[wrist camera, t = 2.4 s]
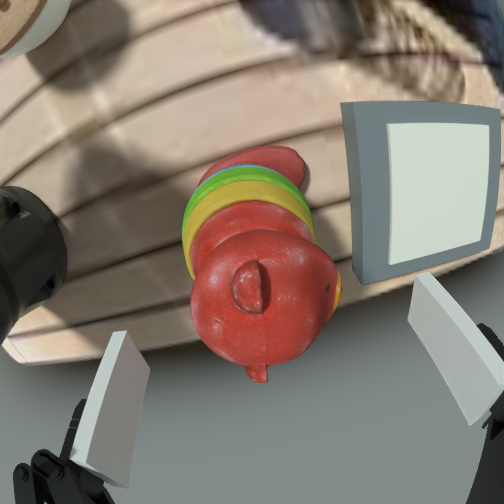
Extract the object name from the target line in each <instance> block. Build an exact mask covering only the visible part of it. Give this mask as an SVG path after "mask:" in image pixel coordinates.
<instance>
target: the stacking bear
mask: <svg viewBox="0 0 504 504" xmlns="http://www.w3.org/2000/svg"><path fill="white" fill-rule="evenodd" d="M304 167H305V162H304V160H303V159H302V158H301V157H299V156H298V153H297V152H296V151H295V150H294V149H292V148H289V147H283V146H260V147H253V148H249V149H245V150H241V151H239V152H236V153H234V154H231V155H229V156H227V157H225V158H224V159H222V160H220V161H219V162H217V163H216V164H215V165H213V166H212V167H211V168H210V169H209V170H208V171H207V172H206V173H205V174H204V176H203V177H202V179H201V180H200V182H199V185H198V187H197V189H196V190H195V192H194V193H193V195H192V196H191V198H190V200H189V202H188V205H187V207H186V210H185V213H184V217H183V224H182V243H183V248H184V256H185V260H186V264H187V268H188V270H189V273H190V275H191V277H192V279H193V280H194V284H193V288H192V292H191V302H190V306H191V315H192V320H193V323H194V326H195V329H196V331H197V333H198V334H199V336H200V338H201V339H202V341H203V342H204V343H205V344H206V345H207V346H208V347H209V348H210V349H211V350H212V351H213V352H215V353H216V354H217V355H219V356H221V357H222V358H224V359H226V360H228V361H230V362H233V363H236V364H239V365H243V366H244V367H245V371H246V373H247V374H248V376H249V377H250V379H252V380H253V381H255V382H258V383H267V382H268V372H267V366H274V365H278V364H282V363H286V362H289V361H291V360H293V359H295V358H297V357H298V356H300V355H301V354H303V353H304V352H305V351H306V350H307V349H308V348H309V347H310V345H311V344H312V343H313V341H314V340H315V338H316V336H317V335H318V334H319V332H320V331H321V330H322V328H323V327H324V326H325V324H326V323H327V322H328V321H329V319H330V317H331V316H332V314H333V312H334V310H335V308H336V307H337V305H338V303H339V300H340V298H341V292H342V283H341V277H340V273H339V271H338V269H337V267H336V265H335V264H334V262H333V260H332V259H331V258H330V256H329V255H328V254H327V253H326V252H325V251H323V250H322V249H321V248H320V247H318V246H317V245H315V234H314V224H313V218H312V215H311V211H310V209H309V206H308V204H307V201H306V199H305V198H304V196H303V195H302V193H301V192H300V190H299V189H298V188H299V187H300V185H301V184H302V182H303V179H304V177H305V171H304Z"/></svg>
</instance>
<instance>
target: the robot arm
mask: <svg viewBox="0 0 504 504" xmlns="http://www.w3.org/2000/svg"><path fill="white" fill-rule="evenodd" d="M66 270H67V256H66V249H65V244H64V241H63V238H62V235H61V232H60V230H59V227H58V225H57V223H56V221H55V220H54V218H53V216H52V215H51V213H50V212H49V210H48V209H47V208H46V206H45V205H44V204H43V203H42V202H41V201H40V200H39V199H38V198H37V197H36V196H35V195H33V194H32V193H30V192H29V191H27V190H25V189H23V188H20V187H16V186H6V187H2V188H0V346H1V345H2V343H3V342H4V340H5V338H6V337H7V335H8V334H9V332H10V331H11V329H12V328H13V326H14V325H15V323H16V322H17V321H18V319H19V318H21V317H23V316H24V315H26V314H28V313H29V312H31V311H33V310H34V309H36V308H38V307H39V306H41V305H43V304H44V303H46V302H48V301H49V300H50V299H51V298H52V297H53V296H54V294H55V293H56V292H57V290H58V289H59V288H60V286H61V285H62V283H63V281H64V278H65V275H66ZM408 322H409V323H410V325H411V326H412V328H413V329H414V331H415V332H416V334H417V336H418V337H419V339H420V340H421V342H422V343H423V345H424V347H425V348H426V350H427V351H428V353H429V354H430V356H431V358H432V359H433V361H434V363H435V364H436V366H437V368H438V370H439V371H440V373H441V374H442V376H443V378H444V380H445V381H446V383H447V385H448V387H449V388H450V390H451V392H452V394H453V396H454V397H455V399H456V401H457V403H458V405H459V407H460V408H461V410H462V412H463V414H464V416H465V418H466V420H467V422H468V424H469V425H471V424H473V423H475V422H476V421H478V420H480V419H481V418H483V417H484V415H485V414H486V413H487V412H488V411H489V409H490V411H491V413H492V414H491V416H490V417H489V418H488V419H487V420H486V422H485V423H484V424H483V426H482V428H483V429H484V428H485V427H486V426H487V424H488V423H489V424H488V428H487V434H486V439H485V443H484V448H483V451H482V456H481V459H480V463H479V466H478V470H477V473H476V477H475V479H474V482H473V485H472V488H471V491H470V494H469V497H468V499H467V502H466V504H504V346H503V343H502V342H501V341H500V339H498V337H497V336H496V334H495V333H494V332H493V331H492V329H490V328H489V327H487V326H486V325H484V324H483V323H481V324H478V325H475V324H474V322H473V321H472V320H471V319H470V318H469V316H468V315H467V314H466V313H465V312H464V311H463V309H462V308H461V307H460V306H459V305H458V303H457V302H456V301H455V300H454V299H453V298H452V297H451V296H450V294H449V293H448V292H447V291H446V290H445V289H444V288H443V287H442V286H441V285H440V283H439V282H438V281H437V280H436V279H435V278H434V277H433V276H432V275H431V274H430V273H429V272H425V273H421V274H418V275H415V281H414V287H413V293H412V299H411V305H410V310H409V315H408ZM149 374H150V367H149V366H148V364H147V363H146V361H145V360H144V358H143V356H142V355H141V353H140V352H139V350H138V348H137V347H136V345H135V343H134V342H133V340H132V338H131V337H130V335H129V333H128V331H117V332H113V334H112V336H111V339H110V341H109V344H108V346H107V348H106V351H105V353H104V356H103V358H102V361H101V364H100V366H99V369H98V371H97V374H96V377H95V379H94V382H93V385H92V388H91V391H90V394H89V396H88V399H82V400H81V401H80V402H79V404H78V405H77V407H76V408H75V410H74V413H73V416H72V420H71V422H70V425H69V427H70V428H68V431H67V434H66V438H65V441H64V444H63V447H62V451H61V454H60V457H59V458H58V457H57V456H55V455H54V454H53V453H51V452H50V451H48V450H46V449H41V450H38V451H37V452H36V453H35V454H34V456H33V457H32V460H31V466H29V465H28V464H26V463H20V464H18V465H17V466H16V468H15V470H14V472H13V483H14V494H15V503H16V504H44V502H46V503H47V504H115V503H114V501H113V499H112V498H111V496H110V495H109V493H108V491H107V489H106V488H105V487H104V486H103V484H104V481H105V482H106V483H108V484H110V485H112V486H116V487H122V488H128V484H129V477H130V471H131V464H132V458H133V452H134V446H135V441H136V435H137V430H138V425H139V420H140V415H141V410H142V405H143V401H144V396H145V391H146V387H147V382H148V378H149Z"/></svg>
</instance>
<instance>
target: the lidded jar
mask: <svg viewBox="0 0 504 504" xmlns="http://www.w3.org/2000/svg"><path fill="white" fill-rule="evenodd" d="M71 1H72V0H0V59H4V58H10V57H15V56H19V55H22V54H25V53H27V52H29V51H31V50H33V49H35V48H36V47H38V46H39V45H41V44H42V43H44V42H45V41H46V40H47V39H48V38H49V37H50V36H51V35H52V34H53V33H54V32H55V31H56V30H57V29H58V28H59V27H60V26H61V24H62V23H63V21H64V19H65V18H66V16H67V13H68V10H69V8H70V5H71Z"/></svg>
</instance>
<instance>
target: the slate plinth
mask: <svg viewBox="0 0 504 504" xmlns="http://www.w3.org/2000/svg"><path fill="white" fill-rule="evenodd" d="M340 105H341V112H342V119H343V127H344V135H345V144H346V153H347V163H348V175H349V188H350V204H351V225H352V270H353V272H354V274H355V275H356V277H357V278H358V280H359V281H360V283H361V284H362V285H365V284H369V283H373V282H377V281H381V280H385V279H389V278H392V277H396V276H400V275H404V274H407V273H411V272H415V271H418V270H422V269H425V268H429V267H432V266H436V265H439V264H442V263H446V262H449V261H452V260H456V259H459V258H462V257H465V256H468V255H471V254H475V253H478V252H481V251H484V250H487V249H489V247H490V243H491V237H492V232H493V226H494V220H495V214H496V207H497V199H498V189H499V178H500V161H501V119H500V110H499V109H494V108H489V107H483V106H475V105H467V104H457V103H445V102H428V101H361V102H343V103H340Z"/></svg>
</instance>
